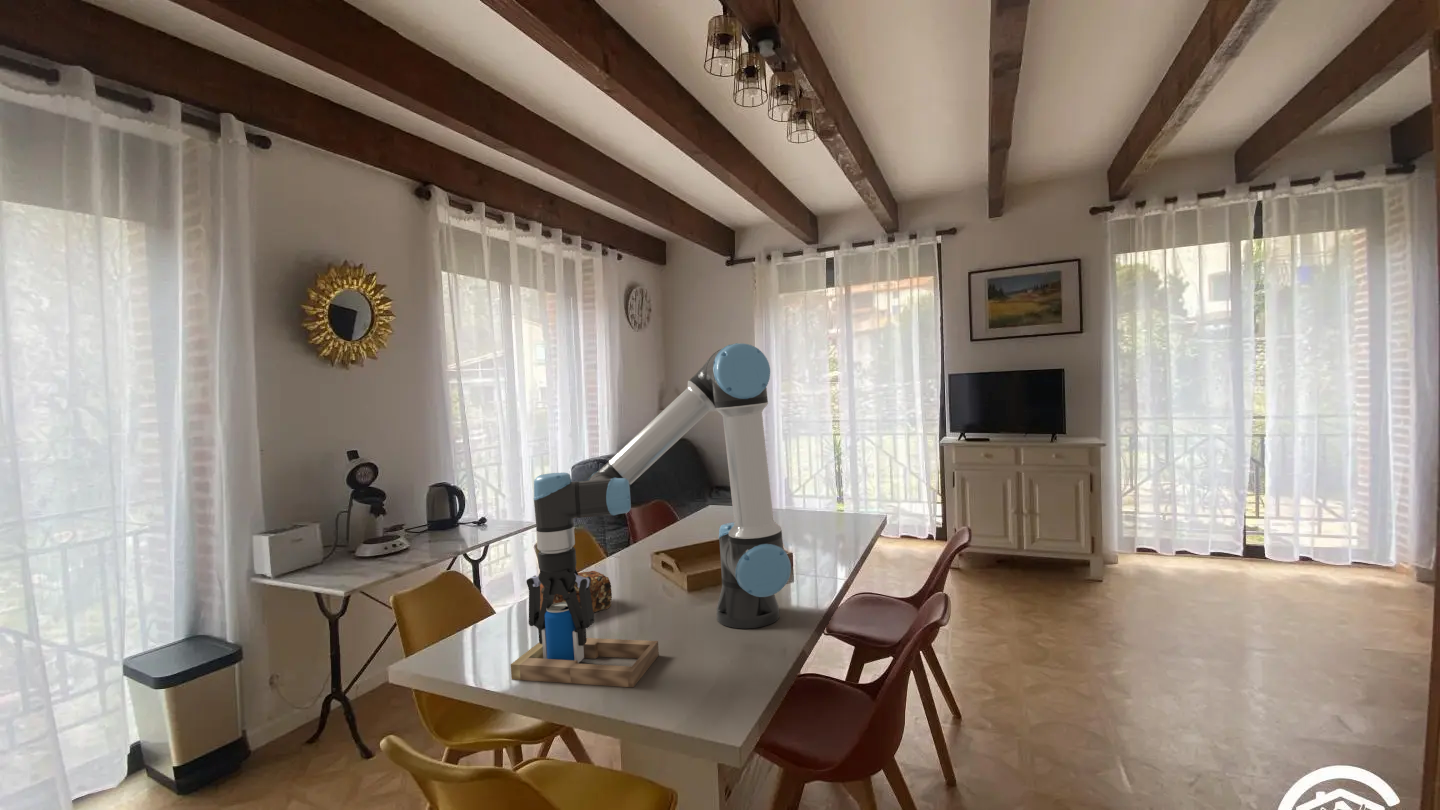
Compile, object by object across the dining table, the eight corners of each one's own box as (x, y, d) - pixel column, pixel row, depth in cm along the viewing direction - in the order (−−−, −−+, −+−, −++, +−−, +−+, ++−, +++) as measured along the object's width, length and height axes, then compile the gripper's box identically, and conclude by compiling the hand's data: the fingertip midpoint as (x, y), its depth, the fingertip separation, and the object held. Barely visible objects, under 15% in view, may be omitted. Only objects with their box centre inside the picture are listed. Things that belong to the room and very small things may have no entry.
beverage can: (571, 671, 122) (567, 612, 121) (542, 670, 123) (538, 612, 123) (585, 657, 128) (581, 601, 128) (556, 656, 129) (553, 601, 129)
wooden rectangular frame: (658, 655, 128) (658, 641, 128) (633, 687, 114) (632, 671, 114) (548, 649, 134) (547, 636, 134) (511, 679, 121) (510, 664, 120)
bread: (546, 629, 147) (543, 588, 146) (529, 618, 155) (526, 579, 155) (614, 608, 158) (612, 570, 158) (595, 599, 167) (592, 563, 166)
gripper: (607, 544, 126) (614, 653, 127) (525, 543, 131) (532, 649, 131) (591, 553, 119) (598, 670, 119) (504, 553, 124) (512, 665, 124)
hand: (563, 659), depth 125 cm, fingers closed on beverage can, 6 cm apart
